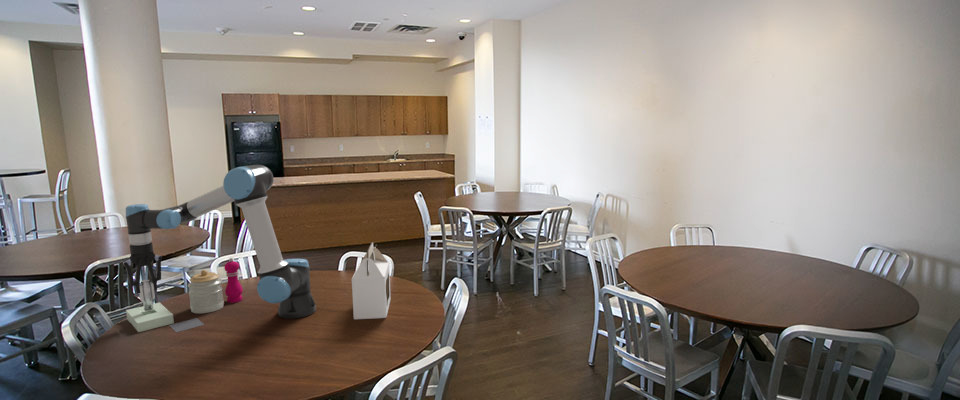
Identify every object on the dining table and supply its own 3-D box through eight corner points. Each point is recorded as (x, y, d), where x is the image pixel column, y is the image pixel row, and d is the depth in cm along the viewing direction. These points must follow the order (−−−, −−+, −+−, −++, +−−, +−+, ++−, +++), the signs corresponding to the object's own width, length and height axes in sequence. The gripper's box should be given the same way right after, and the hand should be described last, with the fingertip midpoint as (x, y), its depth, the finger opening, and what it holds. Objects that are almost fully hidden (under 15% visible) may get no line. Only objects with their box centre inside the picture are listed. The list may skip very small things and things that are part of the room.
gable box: (386, 318, 201) (383, 252, 197) (353, 319, 200) (350, 253, 196) (390, 299, 223) (388, 239, 219) (361, 300, 222) (358, 240, 218)
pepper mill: (236, 303, 220) (232, 260, 217) (222, 302, 221) (218, 259, 218) (247, 298, 227) (243, 256, 224) (233, 297, 228) (229, 255, 225)
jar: (194, 317, 205) (190, 276, 202) (187, 308, 215) (183, 269, 212) (228, 309, 213) (224, 270, 211) (220, 301, 223) (216, 263, 220)
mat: (204, 325, 196) (204, 324, 196) (176, 333, 189) (176, 332, 189) (196, 318, 203) (196, 317, 203) (169, 326, 196) (168, 325, 196)
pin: (154, 309, 200) (151, 280, 198) (145, 311, 197) (141, 282, 196) (152, 307, 202) (149, 279, 200) (143, 309, 200) (139, 281, 198)
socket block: (174, 323, 198) (172, 314, 197) (138, 333, 189) (137, 323, 189) (160, 311, 212) (159, 302, 211) (127, 319, 203) (126, 310, 202)
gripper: (161, 238, 204) (167, 292, 207) (114, 245, 192) (121, 302, 196) (166, 240, 199) (173, 296, 202) (118, 248, 187) (125, 307, 191)
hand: (147, 299), depth 199 cm, fingers closed on pin, 3 cm apart
